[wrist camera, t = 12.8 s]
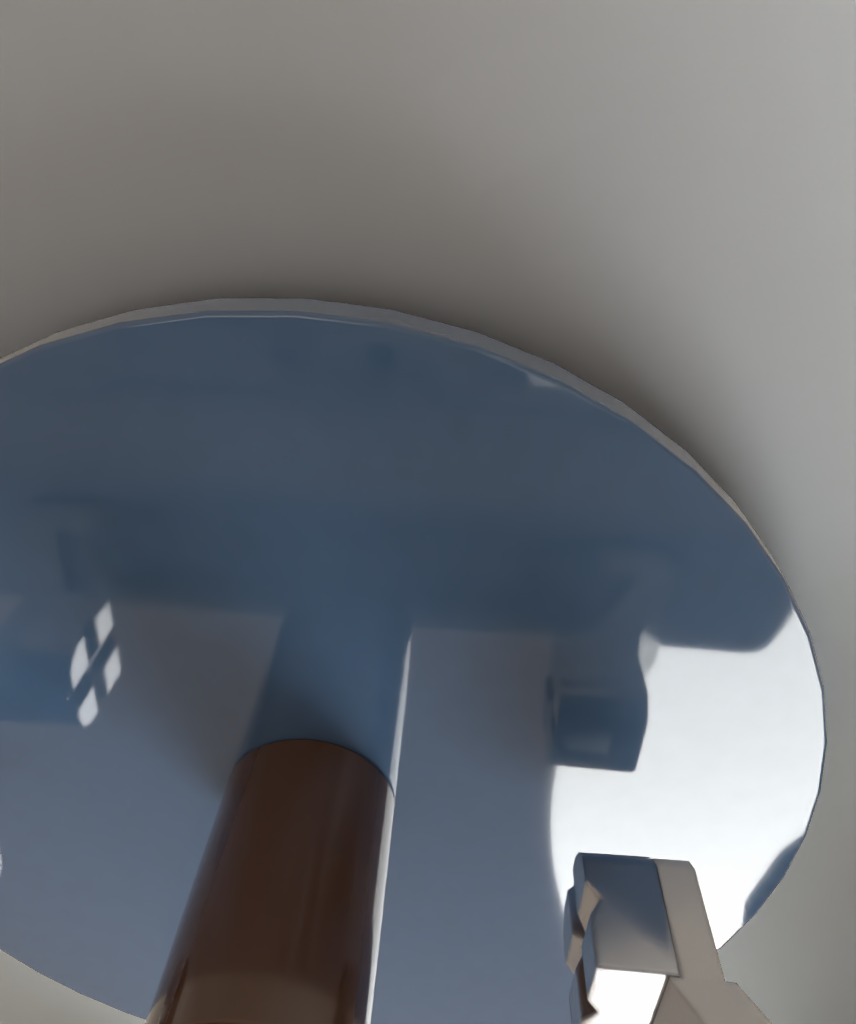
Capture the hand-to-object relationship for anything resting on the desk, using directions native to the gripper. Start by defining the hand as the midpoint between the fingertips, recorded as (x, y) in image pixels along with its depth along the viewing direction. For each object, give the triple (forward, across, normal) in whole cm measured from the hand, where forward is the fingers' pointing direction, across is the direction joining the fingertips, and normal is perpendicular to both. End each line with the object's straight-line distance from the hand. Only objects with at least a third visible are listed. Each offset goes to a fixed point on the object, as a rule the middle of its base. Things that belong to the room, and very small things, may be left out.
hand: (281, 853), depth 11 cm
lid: (+2, 0, 0) cm, 2 cm away
